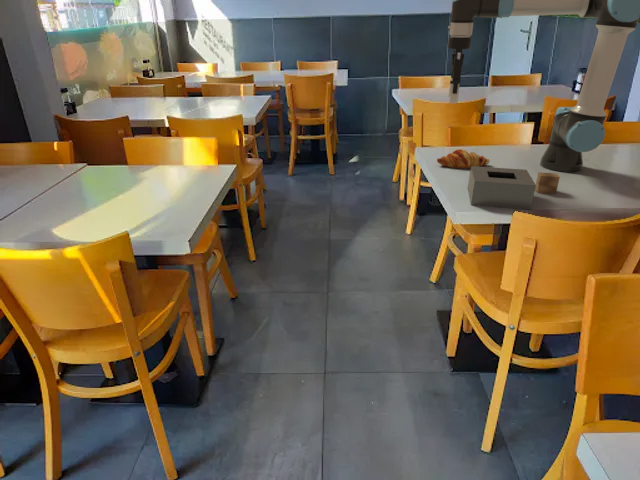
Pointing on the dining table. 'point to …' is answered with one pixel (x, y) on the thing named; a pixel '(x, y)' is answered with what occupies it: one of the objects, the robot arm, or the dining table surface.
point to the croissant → (462, 159)
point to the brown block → (547, 183)
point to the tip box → (501, 187)
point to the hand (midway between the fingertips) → (452, 99)
